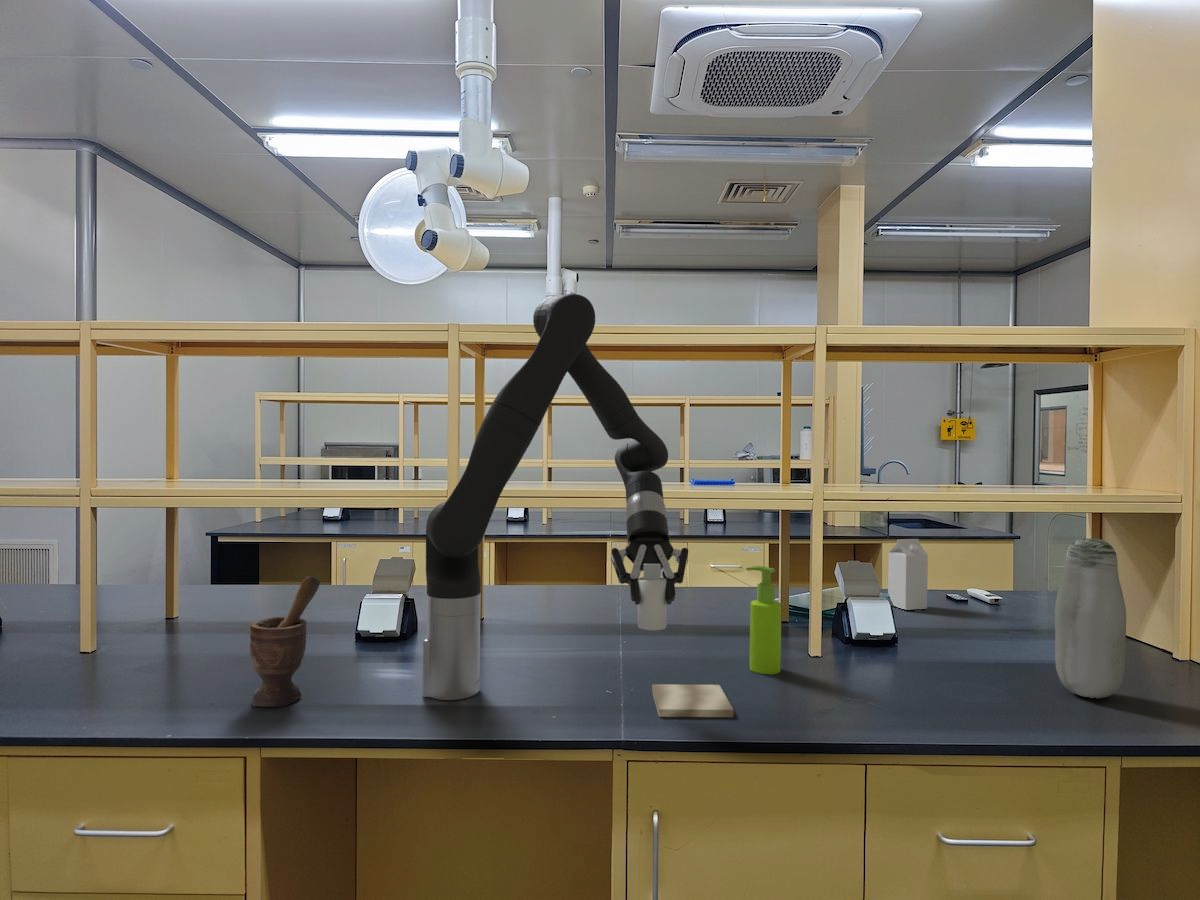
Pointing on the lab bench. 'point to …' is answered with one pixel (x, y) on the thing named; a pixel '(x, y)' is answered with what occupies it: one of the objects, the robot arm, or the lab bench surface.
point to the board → (691, 701)
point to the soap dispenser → (765, 626)
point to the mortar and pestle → (281, 650)
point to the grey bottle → (1090, 621)
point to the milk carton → (908, 575)
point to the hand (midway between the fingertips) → (653, 601)
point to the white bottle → (652, 599)
